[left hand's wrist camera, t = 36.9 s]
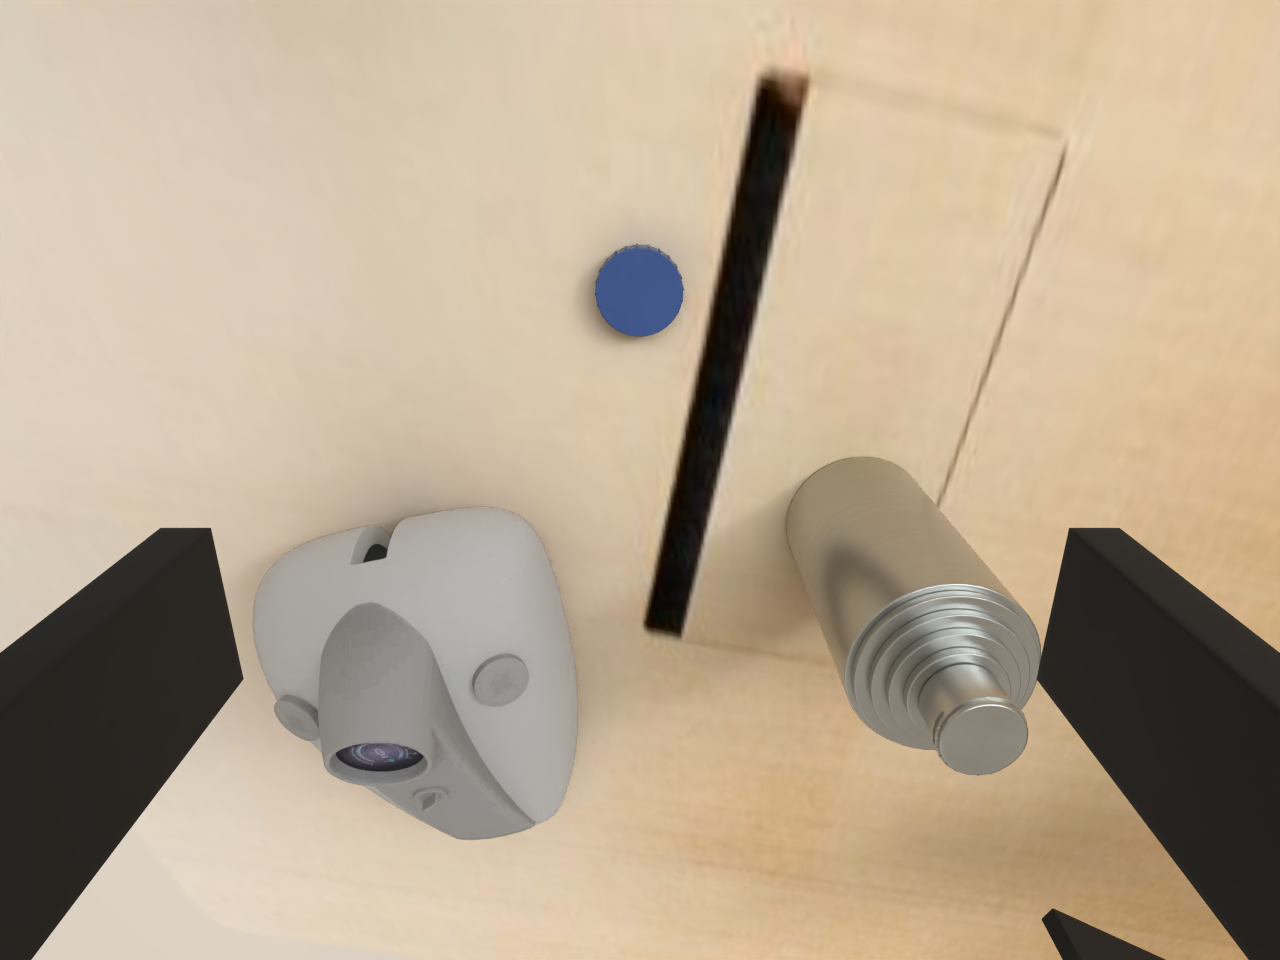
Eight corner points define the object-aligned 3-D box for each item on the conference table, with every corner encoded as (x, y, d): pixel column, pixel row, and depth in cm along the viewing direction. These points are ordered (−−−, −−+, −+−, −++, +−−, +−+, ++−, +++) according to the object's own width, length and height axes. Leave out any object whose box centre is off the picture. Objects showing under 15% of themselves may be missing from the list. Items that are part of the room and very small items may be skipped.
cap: (619, 344, 44) (619, 351, 43) (581, 267, 43) (579, 271, 41) (696, 308, 43) (698, 314, 42) (660, 228, 42) (660, 231, 40)
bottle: (765, 489, 47) (842, 693, 29) (902, 434, 46) (1069, 613, 28) (813, 602, 50) (909, 852, 32) (942, 553, 49) (1119, 785, 31)
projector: (223, 701, 53) (79, 891, 39) (357, 405, 45) (236, 512, 32) (529, 829, 57) (494, 1042, 43) (697, 577, 49) (720, 738, 36)
